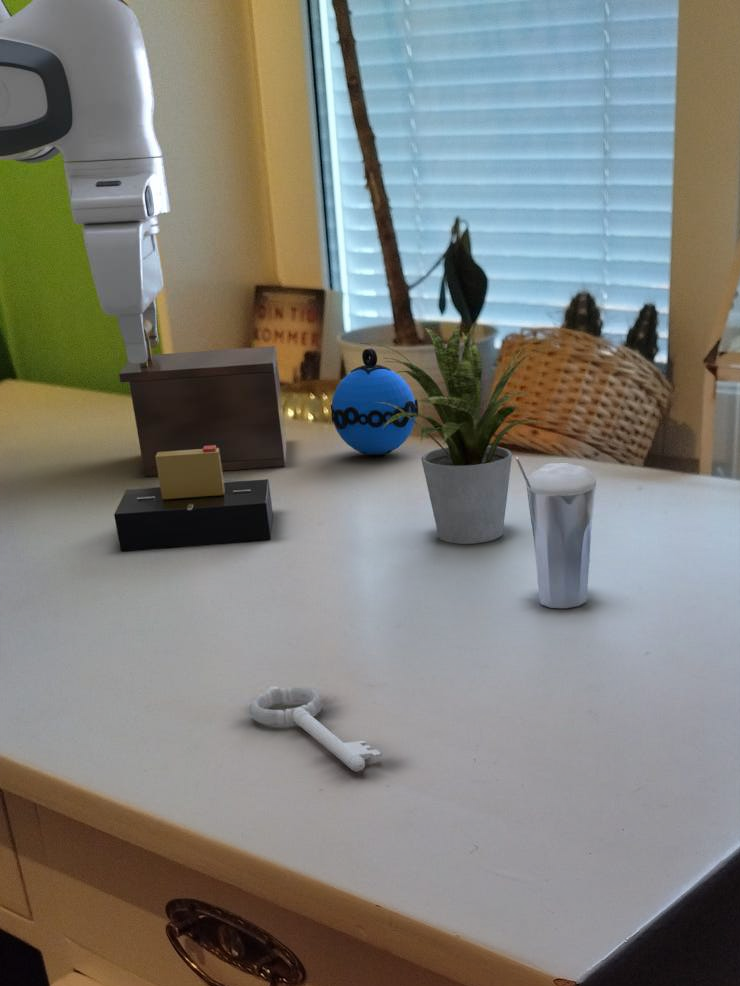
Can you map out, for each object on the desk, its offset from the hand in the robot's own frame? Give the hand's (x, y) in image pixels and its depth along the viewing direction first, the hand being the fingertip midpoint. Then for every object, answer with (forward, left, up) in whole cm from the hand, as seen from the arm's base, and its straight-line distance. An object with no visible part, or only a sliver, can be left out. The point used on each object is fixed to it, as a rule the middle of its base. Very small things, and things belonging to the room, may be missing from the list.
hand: (144, 354), depth 127 cm
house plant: (+27, -33, -11) cm, 44 cm away
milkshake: (+32, -52, -11) cm, 62 cm away
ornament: (+22, -3, -11) cm, 24 cm away
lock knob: (+6, -27, -7) cm, 29 cm away
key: (+15, -71, -10) cm, 73 cm away
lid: (+5, 0, -2) cm, 5 cm away
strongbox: (+6, 0, -10) cm, 12 cm away
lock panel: (+6, -27, -10) cm, 29 cm away
